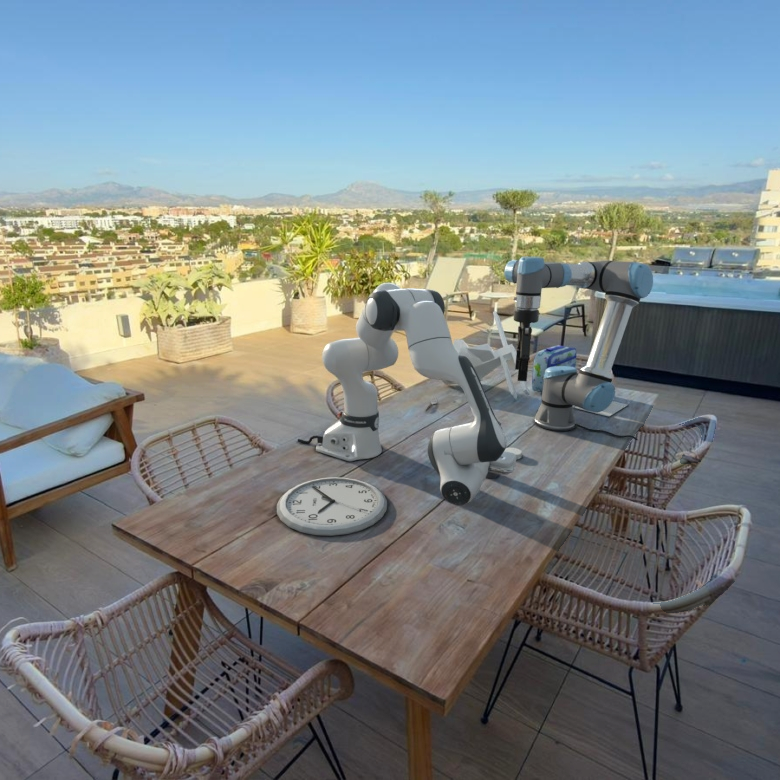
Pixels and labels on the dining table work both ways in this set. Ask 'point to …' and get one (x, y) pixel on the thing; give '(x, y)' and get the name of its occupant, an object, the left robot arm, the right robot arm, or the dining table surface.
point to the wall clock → (331, 506)
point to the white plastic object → (490, 358)
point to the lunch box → (551, 363)
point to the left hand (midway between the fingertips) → (483, 446)
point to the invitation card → (609, 409)
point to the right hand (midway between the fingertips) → (520, 375)
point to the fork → (432, 403)
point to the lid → (515, 452)
